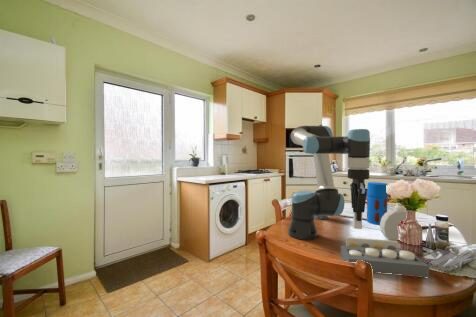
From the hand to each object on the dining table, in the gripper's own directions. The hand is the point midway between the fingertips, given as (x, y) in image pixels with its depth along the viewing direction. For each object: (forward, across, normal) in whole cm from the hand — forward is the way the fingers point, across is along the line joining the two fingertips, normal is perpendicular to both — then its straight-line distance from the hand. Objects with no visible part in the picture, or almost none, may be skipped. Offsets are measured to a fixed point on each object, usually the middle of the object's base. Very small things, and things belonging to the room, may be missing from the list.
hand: (357, 228), depth 86 cm
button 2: (+11, 0, -5) cm, 13 cm away
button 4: (+11, 0, -17) cm, 21 cm away
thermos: (+15, +60, -28) cm, 68 cm away
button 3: (+11, 0, -11) cm, 16 cm away
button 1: (+13, 0, +1) cm, 13 cm away
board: (+14, 0, -8) cm, 17 cm away
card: (+14, +9, -8) cm, 19 cm away
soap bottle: (+15, +33, -29) cm, 46 cm away
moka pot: (+15, +63, +4) cm, 65 cm away
